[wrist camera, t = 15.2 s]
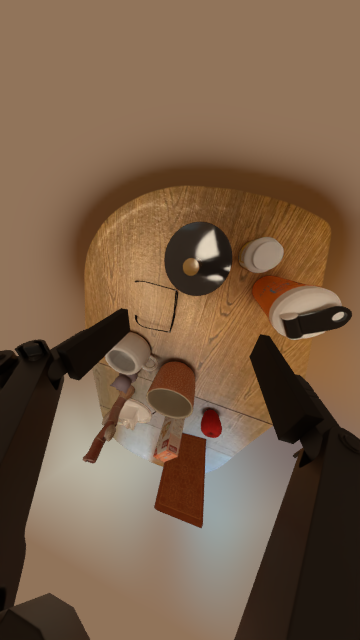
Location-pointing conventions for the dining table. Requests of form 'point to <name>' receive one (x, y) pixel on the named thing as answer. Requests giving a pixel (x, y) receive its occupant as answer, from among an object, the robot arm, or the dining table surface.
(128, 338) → the mug
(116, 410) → the vase
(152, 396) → the planter
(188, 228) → the lid
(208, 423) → the apple
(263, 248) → the pill bottle
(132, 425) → the dish
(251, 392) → the dining table surface
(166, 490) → the book
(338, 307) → the shaker bottle
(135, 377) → the cat figurine
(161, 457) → the cracker box
